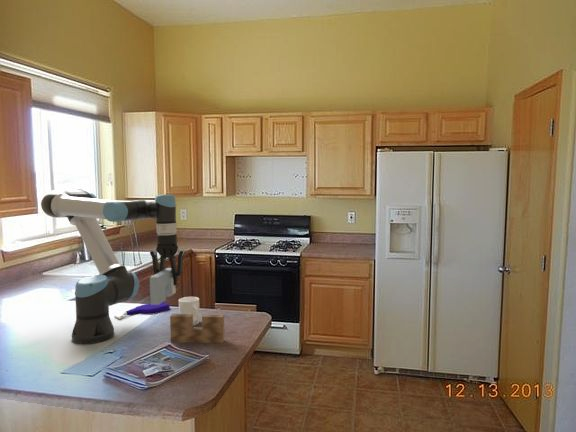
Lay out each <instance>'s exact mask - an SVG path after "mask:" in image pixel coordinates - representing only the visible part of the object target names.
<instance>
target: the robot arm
mask: <svg viewBox="0 0 576 432" xmlns="http://www.w3.org/2000/svg"><path fill="white" fill-rule="evenodd" d="M40 205H41V206H40V207H41V210H42V211H43V212H44V214H45V215H47V216H49V217H52V218H67V221H68V222H69V224H70V225H73V226H75V227H76V229H77V231H78V233H79V234H80V237H81V239H82V241H83V243H84V245H85V248H87V251H88V253H89V255H90V257H91V259H92V261H93V263H94V265H95V267H96V269H97V271H98V274H95V275H90V276H86V277H83V278H81V279H79V280H78V281H76V283H75V289H74V290H75V291H74V296H75V297H74V298H75V316H76V317H75V323H74V324H73V325H74V326H73V329H72V332H71V341H72V342H73V343H75V344H81V345H82V344H83V345H85V344H86V345H88V344H96V343H97V344H98V343H101V342H105V341H107V340H110V339H111V338H112V337H115V328H114V325H113V322H112V319H111V317H110V306H114V305H116V304H119V303H123V302H127V301H128V300H131V299H133V298H134V297H136V295H137V294H138V293H139V288H140V281H139V278H138V276H137V274H136V273H134V272H132V271H128V270H127V267H126V265H123V264H121V263H119V260H118V258H117V257H116V254H115V252H114V251H113V248H112V246H111V245H110V243H109V241H108V238H107V237H106V235H105V233H104V230H103V229H102V226H101V225H100V222H99V221H98V219H99V220H100V219H101V220H107V222H112V223H114V222H115V223H120V222H124V221H125V222H126V221H134V220H135V221H137V220H139V221H140V220H146V219H147V220H151V219H152V220H155V222H156V223H155V224H156V234H157V235H156V248H155V249H153V250H151V251H149V254H150V256H151V260H152V269H153V275H155V274H157V273H159V272H161V271H163V270H165V269H166V260H167V259H168V260H169V264H170V268H171V270H172V275H173V276H172V277H171V294H173V295H175V294H176V286H177V285H178V283H179V282H178V277H179V276H181V275H182V274H183V265H184V263H183V262H184V255H185V252H186V251H185V250H184V249H180V248H179V247H178V235H177V233H178V232H177V231H178V230H177V216H176V215H177V204H176V196H175V195H174V194H156V195H155V197H154V199H136V200H118V199H117V200H115V199H112V200H111V199H102V198H101V199H100V198H97V196H96V195H95V194H94V193H93V192H92V191H90V190H87V189H80V188H79V189H53V190H50V191H49V192H47V193H44V196H42V199H41V202H40ZM158 254H159V257H160V258H159V259H160V262H159V259H158ZM176 254H177V255H178V256H177V262H176ZM176 263H177V264H176Z"/></svg>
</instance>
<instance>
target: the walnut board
mask: <svg viewBox="0 0 576 432" xmlns="http://www.w3.org/2000/svg"><path fill="white" fill-rule="evenodd" d="M169 317H170V318H169V319H170V321H169V322H170V342H171V343H192V344H193V343H194V344H195V343H197V344H198V343H200V344H202V343H203V344H205V343H206V344H223V343H224V342H225V314H208V313H207V314H203V315H202V317H201V326H193V314H179V313H172V314H171V315H170V316H169Z"/></svg>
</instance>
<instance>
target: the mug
mask: <svg viewBox="0 0 576 432" xmlns="http://www.w3.org/2000/svg"><path fill="white" fill-rule="evenodd" d="M178 314H193V327H196V326H197V325H199V323H200V298H199V297H197V296H184V297H181V298H179V299H178Z"/></svg>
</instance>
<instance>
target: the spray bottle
mask: <svg viewBox="0 0 576 432" xmlns="http://www.w3.org/2000/svg"><path fill="white" fill-rule="evenodd" d="M170 306H171V305H169V303H167V302H165V301H163V302H162V303H161V304H159V305H151V302H150V303H146V304H141V305H138V306H136V307H134V308H131V309H129V310H126V311H123V312H116V313H114V314H113V316H114V318H115V319H118V320H122V319H123V318H126V317H127V318H128V317H131V316H133V314H134V315H139V313H140V315H154V314H159V313H161V312H167V311H169V310H170V309H171V308H170ZM158 312H159V313H158ZM153 313H154V314H153Z"/></svg>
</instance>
